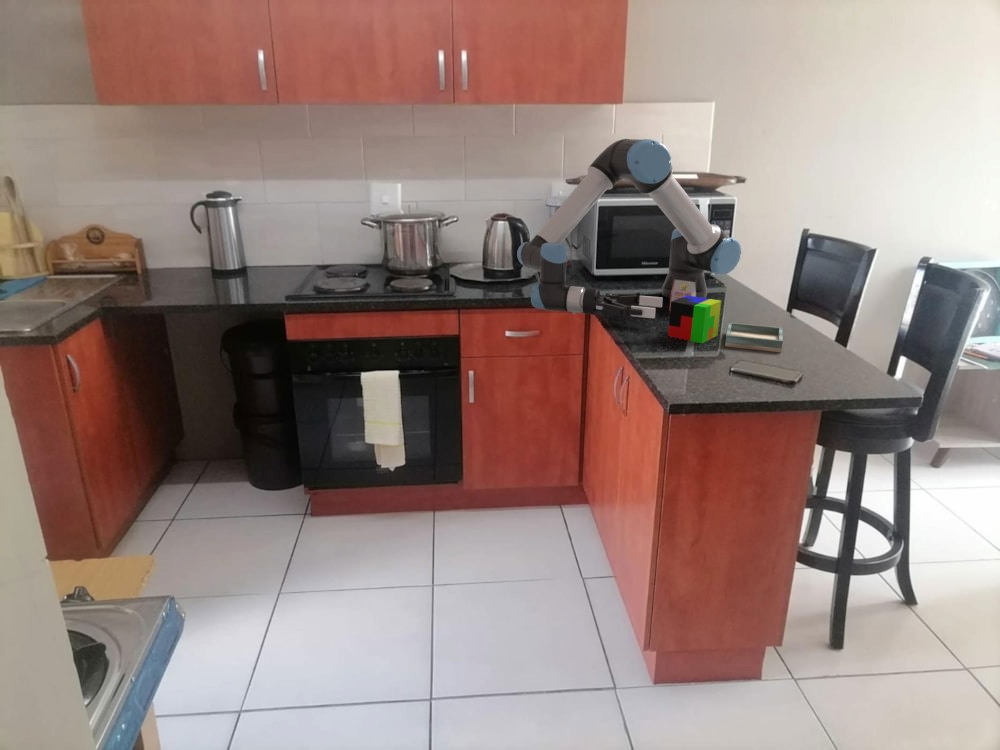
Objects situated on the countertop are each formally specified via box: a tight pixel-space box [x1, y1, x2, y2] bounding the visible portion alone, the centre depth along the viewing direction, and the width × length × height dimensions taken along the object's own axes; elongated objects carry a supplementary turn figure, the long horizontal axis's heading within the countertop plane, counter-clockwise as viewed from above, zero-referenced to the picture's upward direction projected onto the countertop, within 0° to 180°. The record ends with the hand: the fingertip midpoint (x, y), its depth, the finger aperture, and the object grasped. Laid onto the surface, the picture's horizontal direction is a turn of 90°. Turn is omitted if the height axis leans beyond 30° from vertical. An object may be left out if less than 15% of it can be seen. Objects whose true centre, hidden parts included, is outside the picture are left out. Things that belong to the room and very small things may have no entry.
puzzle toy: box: [667, 295, 722, 344], centre depth 194 cm, size 10×10×10 cm
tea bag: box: [668, 279, 696, 312], centre depth 219 cm, size 4×7×10 cm, turn 54°
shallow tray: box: [724, 322, 784, 353], centre depth 190 cm, size 14×14×3 cm
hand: (658, 307), depth 197 cm, fingers open, 13 cm apart
